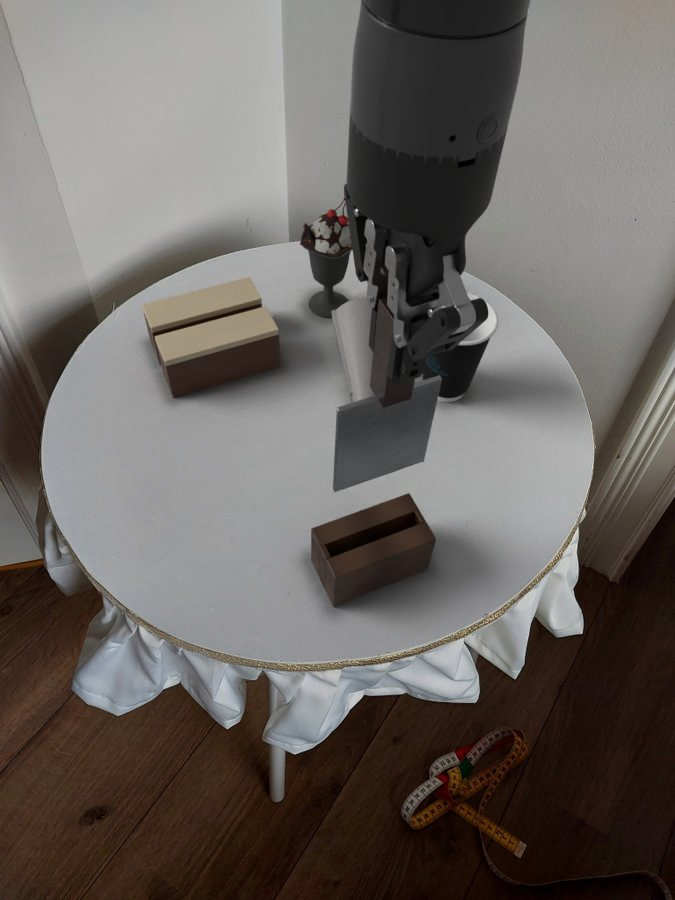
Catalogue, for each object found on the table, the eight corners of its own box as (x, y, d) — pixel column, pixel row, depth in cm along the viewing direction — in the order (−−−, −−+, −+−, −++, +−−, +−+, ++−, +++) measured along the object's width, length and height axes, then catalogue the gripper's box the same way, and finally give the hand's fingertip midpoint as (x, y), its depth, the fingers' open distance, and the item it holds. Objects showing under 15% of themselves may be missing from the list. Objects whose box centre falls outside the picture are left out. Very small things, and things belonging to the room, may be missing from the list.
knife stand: (333, 607, 67) (335, 578, 62) (311, 559, 70) (311, 528, 65) (428, 569, 70) (436, 538, 65) (402, 525, 73) (409, 492, 68)
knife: (339, 501, 57) (350, 334, 42) (328, 480, 58) (334, 310, 43) (429, 469, 59) (468, 300, 44) (416, 449, 60) (451, 278, 46)
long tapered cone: (423, 429, 75) (383, 293, 85) (362, 441, 75) (330, 303, 84) (421, 456, 80) (384, 324, 90) (365, 468, 80) (334, 334, 89)
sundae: (364, 299, 93) (372, 196, 81) (336, 329, 89) (339, 227, 77) (321, 280, 95) (322, 177, 83) (291, 309, 91) (289, 205, 79)
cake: (173, 398, 82) (164, 361, 77) (150, 342, 87) (141, 304, 82) (280, 366, 85) (278, 329, 81) (252, 314, 91) (249, 276, 86)
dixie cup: (483, 370, 86) (503, 299, 77) (472, 419, 81) (492, 350, 73) (418, 355, 87) (430, 284, 78) (404, 403, 82) (415, 333, 74)
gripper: (300, 53, 37) (302, 310, 51) (428, 206, 29) (389, 458, 43) (430, 31, 39) (398, 284, 53) (581, 169, 31) (497, 421, 45)
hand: (394, 361), depth 48 cm, fingers closed on knife, 2 cm apart
